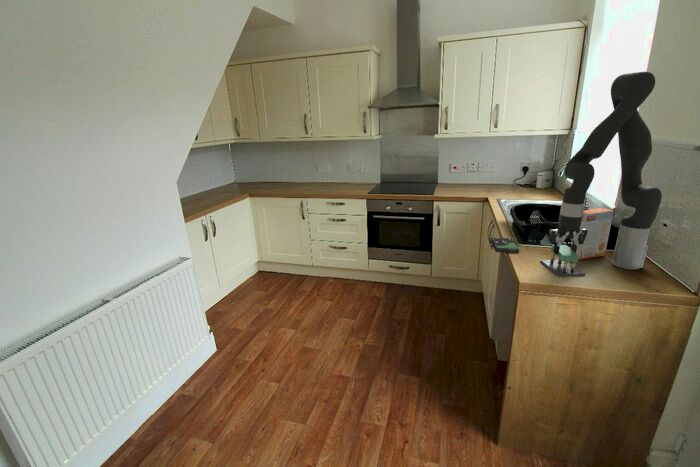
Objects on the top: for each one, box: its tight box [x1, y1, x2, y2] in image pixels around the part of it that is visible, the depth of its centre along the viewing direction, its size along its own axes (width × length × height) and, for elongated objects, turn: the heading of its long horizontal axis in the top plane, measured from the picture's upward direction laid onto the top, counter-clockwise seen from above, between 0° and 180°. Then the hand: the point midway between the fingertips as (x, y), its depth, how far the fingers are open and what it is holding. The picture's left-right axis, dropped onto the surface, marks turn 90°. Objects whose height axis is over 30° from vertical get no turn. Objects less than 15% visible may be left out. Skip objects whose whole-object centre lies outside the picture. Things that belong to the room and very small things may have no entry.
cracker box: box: [569, 207, 615, 261], centre depth 147 cm, size 14×6×21 cm, turn 105°
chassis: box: [540, 252, 586, 278], centre depth 138 cm, size 10×14×5 cm
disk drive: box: [489, 237, 520, 254], centre depth 164 cm, size 10×3×15 cm
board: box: [550, 244, 579, 263], centre depth 137 cm, size 12×6×2 cm, turn 169°
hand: (564, 253), depth 137 cm, fingers closed on board, 5 cm apart
